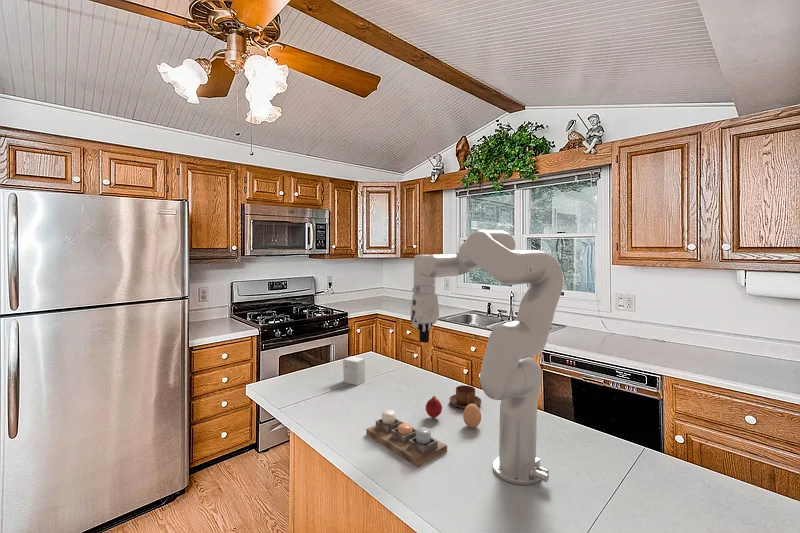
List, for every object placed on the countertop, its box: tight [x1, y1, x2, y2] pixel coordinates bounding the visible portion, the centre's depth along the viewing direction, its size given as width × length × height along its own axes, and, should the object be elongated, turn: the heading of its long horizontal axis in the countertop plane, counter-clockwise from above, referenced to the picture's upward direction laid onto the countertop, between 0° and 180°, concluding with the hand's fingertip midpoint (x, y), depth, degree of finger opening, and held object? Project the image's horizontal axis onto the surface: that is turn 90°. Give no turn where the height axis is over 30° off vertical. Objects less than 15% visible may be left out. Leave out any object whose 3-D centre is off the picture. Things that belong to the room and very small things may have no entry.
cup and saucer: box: [449, 384, 482, 409], centre depth 149 cm, size 12×12×6 cm
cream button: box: [381, 409, 396, 425], centre depth 126 cm, size 4×4×3 cm
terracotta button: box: [398, 422, 413, 436], centre depth 120 cm, size 4×4×3 cm
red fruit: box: [425, 395, 443, 419], centre depth 137 cm, size 6×6×8 cm
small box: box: [342, 355, 366, 386], centre depth 172 cm, size 8×6×10 cm
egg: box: [462, 404, 482, 429], centre depth 130 cm, size 6×6×8 cm
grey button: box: [415, 427, 432, 445], centre depth 113 cm, size 4×4×3 cm
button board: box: [365, 417, 448, 468], centre depth 120 cm, size 24×12×4 cm, turn 41°
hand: (424, 341), depth 136 cm, fingers closed
